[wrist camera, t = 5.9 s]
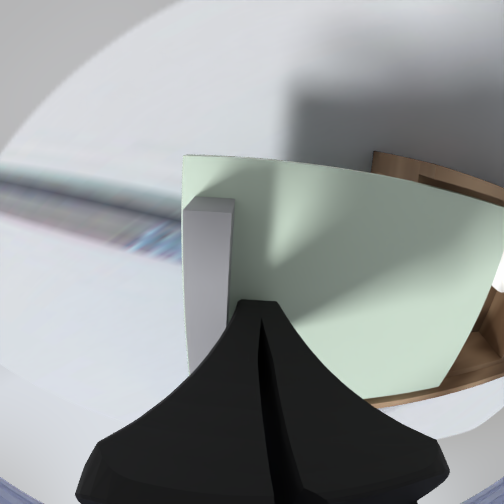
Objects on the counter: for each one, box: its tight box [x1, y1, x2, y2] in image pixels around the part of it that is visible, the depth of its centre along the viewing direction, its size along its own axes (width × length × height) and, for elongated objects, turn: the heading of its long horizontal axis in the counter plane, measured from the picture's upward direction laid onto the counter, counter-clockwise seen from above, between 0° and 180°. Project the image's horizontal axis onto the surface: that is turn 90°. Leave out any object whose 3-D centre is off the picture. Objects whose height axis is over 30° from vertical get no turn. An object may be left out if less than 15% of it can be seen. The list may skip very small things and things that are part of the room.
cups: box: [492, 251, 504, 292], centre depth 13 cm, size 9×4×3 cm, turn 130°
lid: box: [182, 154, 504, 399], centre depth 10 cm, size 14×10×2 cm
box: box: [364, 151, 504, 408], centre depth 13 cm, size 14×12×5 cm
